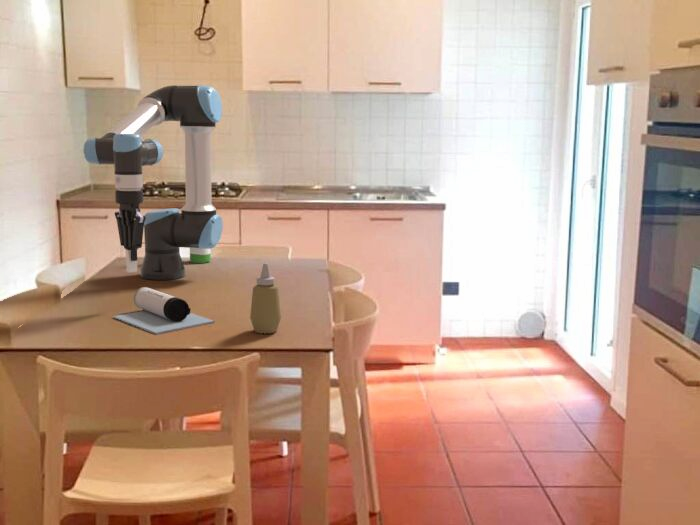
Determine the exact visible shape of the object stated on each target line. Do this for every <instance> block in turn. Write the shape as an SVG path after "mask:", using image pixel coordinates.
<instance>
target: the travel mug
mask: <svg viewBox="0 0 700 525" xmlns="http://www.w3.org/2000/svg"><path fill="white" fill-rule="evenodd" d="M133 304H134V305H135V307H136V308H138V309H141V310H142V311H149V312H151V313H154V314H156V315H159V316H162V317H164V318H167V319H170V320H173V321H176V322H179V321H182V320H184V319H185V318H186V317H187V315H190V313H191V310H192V309H191V308H190V306H189V303H188V302H187V301H186V300H184V299H182V298H178V297H176V296H174V295H171V294H167V293H165V292H161V291H159V290H155V289H153V288H150V287H147V286H143V287H140V288H138V289H137V290H136V291H135V293H134V295H133Z"/></svg>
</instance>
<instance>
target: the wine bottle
mask: <svg viewBox="0 0 700 525" xmlns="http://www.w3.org/2000/svg"><path fill="white" fill-rule="evenodd" d="M211 249H212V248H211ZM211 249H200V248H189V260H190V262H191V263H194V264H207V263H209V262H210V261H211V257H212V255H211Z"/></svg>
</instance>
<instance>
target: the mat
mask: <svg viewBox="0 0 700 525" xmlns="http://www.w3.org/2000/svg"><path fill="white" fill-rule="evenodd" d="M113 319H115V320H117V319H118V321H120V320H121V321H120V322H122V321H124V322H123V323H125V322H126V323H125V324H128V325H130V324H131V326H133V327H135V326H136V328H138V327H139V328H138V329H141V330H143V329H144V331H146V332H149V333H152V334H153V335H160V334H165V333H170V332H174V331H179V330H184V329H185V330H186V329H189V328H195V327H200V326H205V325H209V324H214V323H215V320H213V319H210V318H208V317H207V318H206V317H204V316H202V315H201V316H200V315H198V314H195V313H192V312H190V315H187V317H186V318H185V319H184V320H182V321H179V322H176V321H173V320H170V319H167V318H164V317H162V316H159V315H156V314H154V313H151V312H149V311H146V310H140V311H136V312H135V311H134V312H131V313H130V312H129V313H125V314H119V315H113Z"/></svg>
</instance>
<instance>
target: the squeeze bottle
mask: <svg viewBox="0 0 700 525" xmlns="http://www.w3.org/2000/svg"><path fill="white" fill-rule="evenodd" d="M275 283H276V280H275V277H274V276H272V275H271V271H270V268H269V263H263V264H262V268H261V274H260V276H257V277H256V285H254V286H253V287H252V294H251V295H252V296H251V307H250V315H249V316H250V317H249V319H250V321H251V325H252V327H253V331H254V332H255V333H258V334H263V333H264V335H265V334H267V333H268V334H274V333H275V332H277V330H278V328H279V326H280V323H281V319H282V313H281V302H280V292H279V291H280V290H279V287H278V286H277V285H276V284H275Z"/></svg>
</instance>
